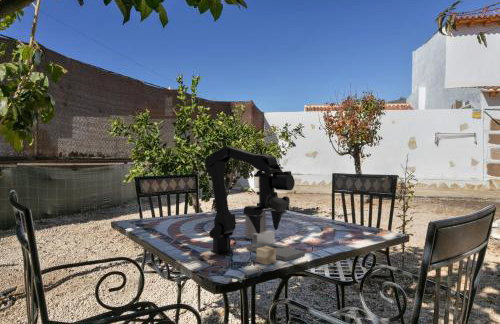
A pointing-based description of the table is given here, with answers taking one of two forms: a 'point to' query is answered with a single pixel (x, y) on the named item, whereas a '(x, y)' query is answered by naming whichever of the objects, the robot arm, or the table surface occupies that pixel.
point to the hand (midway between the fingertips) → (267, 231)
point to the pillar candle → (250, 227)
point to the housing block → (266, 255)
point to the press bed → (281, 251)
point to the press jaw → (263, 238)
